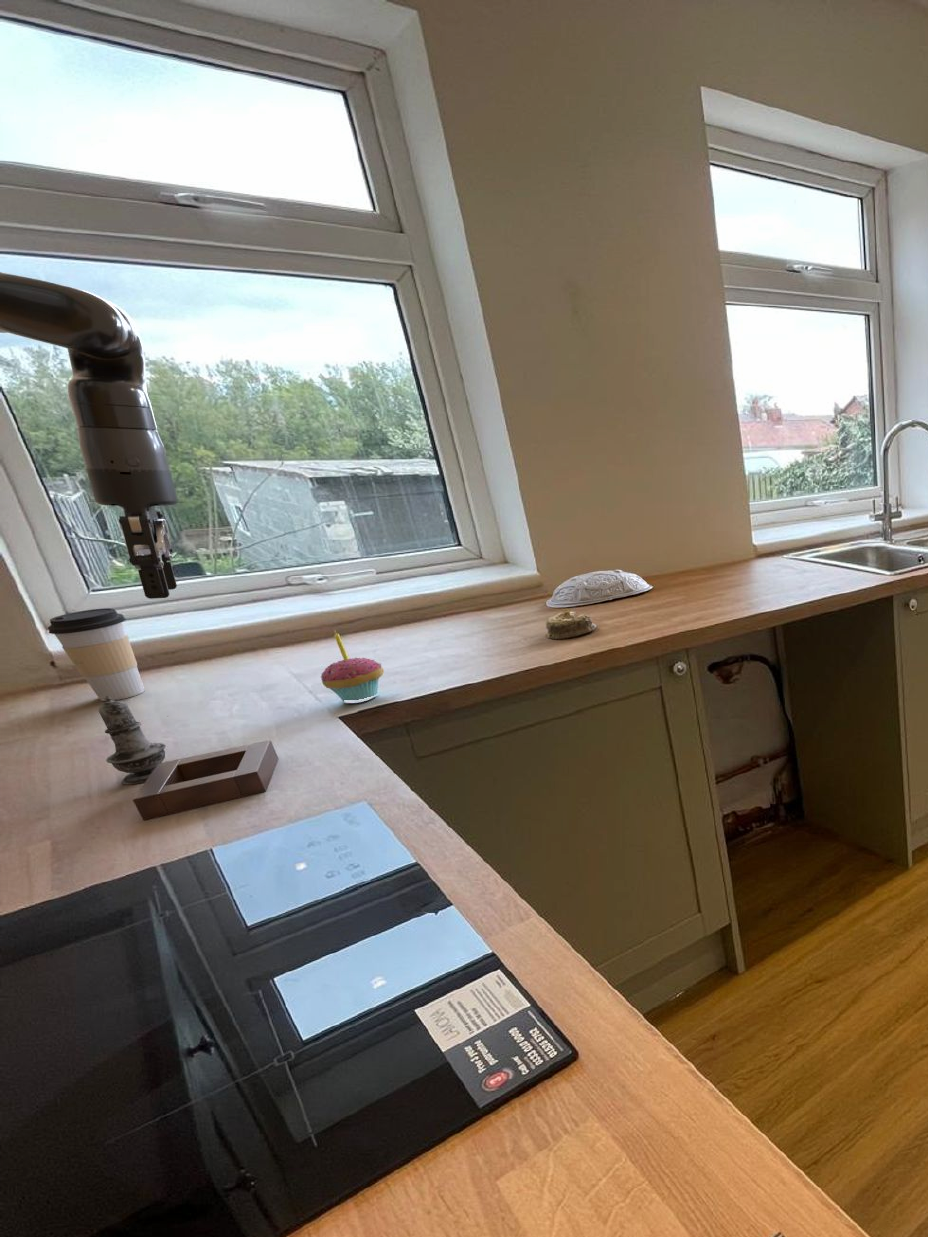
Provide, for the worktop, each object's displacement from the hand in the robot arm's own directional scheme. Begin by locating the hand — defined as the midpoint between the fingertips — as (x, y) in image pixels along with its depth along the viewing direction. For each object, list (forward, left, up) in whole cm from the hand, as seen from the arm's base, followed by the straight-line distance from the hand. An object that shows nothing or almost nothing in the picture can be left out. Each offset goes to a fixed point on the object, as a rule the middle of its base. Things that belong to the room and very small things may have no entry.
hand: (162, 593), depth 102 cm
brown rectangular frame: (0, -12, -24) cm, 27 cm away
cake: (+51, +33, -24) cm, 65 cm away
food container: (+62, +62, -24) cm, 91 cm away
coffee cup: (-22, +47, -24) cm, 57 cm away
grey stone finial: (-9, -1, -24) cm, 26 cm away
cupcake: (+15, +15, -24) cm, 32 cm away
